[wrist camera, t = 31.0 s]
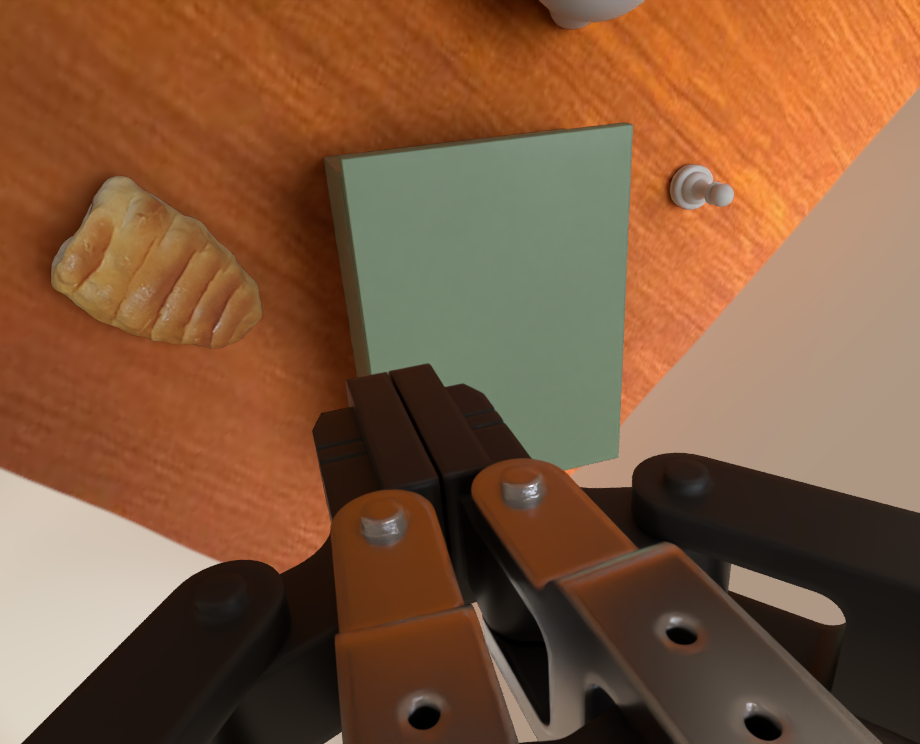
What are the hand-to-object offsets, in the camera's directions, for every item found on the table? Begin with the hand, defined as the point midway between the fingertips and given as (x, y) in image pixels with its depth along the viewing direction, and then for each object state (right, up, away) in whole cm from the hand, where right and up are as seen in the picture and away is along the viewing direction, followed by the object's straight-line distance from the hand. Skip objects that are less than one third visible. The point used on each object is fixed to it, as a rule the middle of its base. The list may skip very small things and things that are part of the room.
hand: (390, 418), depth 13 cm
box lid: (+3, +3, +22) cm, 23 cm away
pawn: (+15, +12, +30) cm, 35 cm away
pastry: (-14, +6, +23) cm, 28 cm away
